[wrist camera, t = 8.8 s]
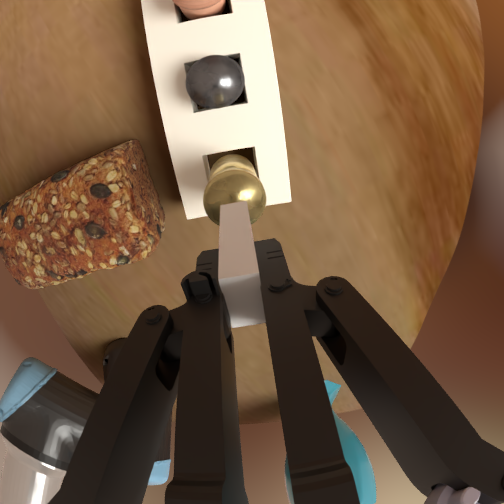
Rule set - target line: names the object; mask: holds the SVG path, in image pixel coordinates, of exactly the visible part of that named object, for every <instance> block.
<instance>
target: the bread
mask: <svg viewBox="0 0 504 504" xmlns="http://www.w3.org/2000/svg"><path fill="white" fill-rule="evenodd" d="M164 220H165V214H164V211H163V208H162V207H161V205H160V200H159V196H158V193H157V191H156V189H155V188H154V185H153V181H152V179H151V177H150V174H149V169H148V164H147V162H146V159H145V156H144V154H143V150H142V147H141V145H140V143H139V141H138V140H137V139H134V140H131V141H128V142H125V143H123V144H121V145H118V146H115V147H113V148H110V149H108V150H105V151H103V152H101V153H98V154H97V155H95V156H93V157H90V158H88V159H86V160H83V161H81V162H79V163H77V164H75V165H73V166H71V167H69V168H67V169H65V170H62V171H59V172H57V173H56V174H54V175H53V176H51V177H49V178H48V179H46V180H43V181H41V182H39V183H38V184H36V185H35V186H33V187H32V188H31V189H29V190H26V191H25V192H24V193H22V194H21V195H18V196H16V197H15V198H14V199H12V200H10V201H8V202H7V203H6V204H4V205H2V206H1V207H0V253H1V255H2V259H3V261H4V263H5V265H6V267H7V269H8V270H9V272H10V273H11V274H12V275H13V277H14V279H15V280H16V282H17V283H18V284H20V285H23V286H25V287H27V288H30V289H38V288H45V287H46V286H49V285H57V284H59V283H64V282H67V281H68V280H70V279H75V278H82V277H84V276H85V275H86V274H90V273H92V272H94V271H96V270H100V269H112V268H116V267H119V266H121V265H124V264H132V263H134V262H137V261H139V260H142V259H144V258H146V257H149V256H150V254H151V253H153V252H154V251H155V250H156V248H157V246H158V245H159V240H160V239H161V233H162V232H164V231H163V230H164V229H165V228H164V226H163V225H164V224H165V223H164Z"/></svg>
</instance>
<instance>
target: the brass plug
mask: <svg viewBox="0 0 504 504" xmlns="http://www.w3.org/2000/svg"><path fill="white" fill-rule="evenodd" d="M242 201H247V205H248V211H249V217H250V223H251V224H253V223H254V222H256V221H257V220H258V219H259V218H260V216H261V215H262V213H263V212H264V209H265V206H266V193H265V190H264V187H263V184H262V183H261V181H260V180H259V178H258V177H257V175H256V172H255V169H254V167H253V165H252V163H251V162H250V161H249V160H248V159H247V158H245V157H243V156H241V155H237V154H229V155H225V156H223V157H221V158H219V159H218V160H217V161H216V162H215V163H214V164H213V166H212V168H211V171H210V177H209V181H208V183H207V185H206V187H205V190H204V195H203V206H204V209H205V212H206V214H207V215H208V217H209V218H210V219H211V220H212V221H213V222H214V223H216V224H217V225H219V226H220V205H225V204H230V203H236V202H242Z"/></svg>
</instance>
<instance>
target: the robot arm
mask: <svg viewBox="0 0 504 504" xmlns="http://www.w3.org/2000/svg"><path fill="white" fill-rule="evenodd" d="M181 286H182V289H183V291H184V294H185V296H186V299H187V302H186V303H185V304H184V305H182V306H180V307H178V308H175V309H173V310H170V311H169V310H168V309H167V308H166V307H165V306H161V305H155V306H151V307H149V308H147V309H146V310H144V311H143V312H142V313H141V314H140V316H139V317H138V319H137V321H136V323H135V325H134V327H133V328H132V330H131V332H130V334H129V336H128V338H125V339H119V340H116V341H113V342H112V343H110V344H109V345H108V346H107V348H106V351H105V354H104V357H103V371H104V381H105V383H104V385H103V387H102V389H101V392H100V394H98V393H96V392H94V391H92V390H90V389H88V388H86V387H84V386H82V385H80V384H79V383H77V382H75V381H73V380H71V379H70V378H68V377H66V376H65V375H63V374H61V373H60V372H58V371H57V369H55V368H52V367H50V366H48V365H46V364H45V363H43V362H41V361H40V360H38V359H36V358H33V357H29V358H27V359H25V360H24V361H23V362H22V363H21V365H20V366H19V368H18V370H17V371H16V373H15V374H14V376H13V378H12V379H11V381H10V383H9V385H8V387H7V389H6V390H5V392H4V394H3V396H2V398H1V400H0V422H2V427H1V430H0V435H1V437H2V439H3V441H4V443H5V445H6V454H5V459H4V464H3V469H2V475H1V481H0V504H142V501H143V498H144V495H145V491H146V488H147V485H160V484H163V483H165V482H166V481H167V479H168V474H169V467H170V462H171V459H170V441H171V421H172V407H173V404H174V402H175V400H176V398H177V409H176V427H175V453H174V477H173V480H172V481H171V482H170V483H169V484H168V485H167V488H166V492H165V504H249V503H248V498H247V495H246V492H245V488H244V478H243V467H242V455H241V443H240V432H239V417H238V404H237V389H236V374H235V358H234V341H233V335H232V332H231V325H232V328H235V327H242V326H248V325H255V324H261V323H266V326H267V332H268V338H269V345H270V351H271V357H272V364H273V370H274V376H275V383H276V389H277V395H278V402H279V408H280V414H281V421H282V427H283V433H284V440H285V446H286V452H287V459H288V465H289V472H290V479H291V485H292V492H293V498H294V504H360V501H359V497H358V493H357V488H356V484H355V480H354V476H353V473H352V470H351V468H350V466H349V465H348V464H347V462H346V460H345V458H344V454H343V450H342V446H341V442H340V438H339V434H338V430H337V426H336V423H335V419H334V415H333V411H332V407H331V404H330V400H329V396H328V393H327V389H326V385H325V382H324V378H323V374H322V371H321V367H320V364H319V360H318V357H317V353H316V350H315V346H314V343H313V340H312V336H316V338H317V340H318V341H319V343H320V344H321V346H322V347H323V349H324V350H325V352H326V354H327V355H328V357H329V358H330V360H331V361H332V363H333V364H334V366H335V367H336V369H337V370H338V372H339V373H340V375H341V376H342V378H343V379H344V381H345V382H346V384H347V385H348V387H349V388H350V390H351V391H352V393H353V394H354V396H355V397H356V399H357V401H358V402H359V404H360V405H361V407H362V408H363V410H364V411H365V413H366V414H367V416H368V417H369V419H370V420H371V422H372V423H373V425H374V426H375V428H376V430H377V431H378V433H379V434H380V436H381V437H382V439H383V440H384V442H385V443H386V445H387V446H388V448H389V449H390V451H391V453H392V454H393V456H394V457H395V458H396V460H397V462H398V463H399V465H400V466H401V468H402V470H403V471H404V472H405V474H406V476H407V477H408V478H409V480H410V481H411V482H412V483H413V485H414V486H415V487H416V488H417V489H418V490H419V491H420V492H421V493H422V494H424V495H425V496H427V497H428V498H427V499H426V501H425V503H424V504H501V503H504V452H503V451H502V450H500V449H498V448H496V447H494V446H493V445H491V444H489V443H488V442H486V441H484V440H483V439H481V437H480V436H479V435H478V433H477V432H476V431H475V429H474V428H473V427H472V425H471V424H470V423H469V421H468V420H467V419H466V417H465V416H464V415H463V413H462V412H461V411H460V410H459V408H458V407H457V406H456V404H455V403H454V402H453V401H452V399H451V398H450V397H449V396H448V394H446V392H445V391H444V389H443V388H442V387H441V386H440V384H439V383H438V382H437V381H436V380H435V378H434V377H433V376H432V375H431V374H430V372H429V371H428V370H427V369H426V368H425V366H424V365H423V364H422V363H421V362H420V360H419V359H418V358H417V357H416V356H415V355H414V353H412V351H411V350H410V349H409V348H408V346H407V345H406V344H405V343H404V342H403V341H402V340H401V338H400V337H399V336H398V335H397V334H396V333H395V332H394V331H393V329H392V328H391V327H390V326H389V325H388V324H387V323H386V322H385V321H384V319H383V318H382V317H381V316H380V315H379V314H378V313H377V312H376V311H375V310H374V308H373V307H372V306H371V305H370V304H369V303H368V302H367V301H366V300H365V299H364V298H363V297H362V296H361V294H360V293H359V292H358V291H357V290H356V289H355V288H354V287H353V286H352V285H351V284H350V283H349V282H348V281H347V280H345V279H344V278H341V277H337V276H330V277H326V278H323V279H322V280H320V281H319V282H318V284H317V286H307V285H302V284H299V283H297V282H295V281H294V280H293V278H291V276H290V272H289V269H288V266H287V263H286V260H285V257H284V253H283V251H282V247H281V244H280V243H279V242H278V241H277V240H276V239H274V238H273V239H267V240H261V241H255V242H254V240H253V234H252V229H251V223H250V217H249V211H248V205H247V201H242V202H236V203H230V204H225V205H220V228H219V249H213V250H207V251H202V252H201V254H200V255H199V256H198V258H197V264H196V271H194V272H191V273H190V274H188V275H186V276H185V277H184V278H183V279H182V282H181ZM64 476H65V477H64ZM63 477H64V480H63V483H62V485H61V481H62V478H63ZM60 486H61V488H60Z"/></svg>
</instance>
